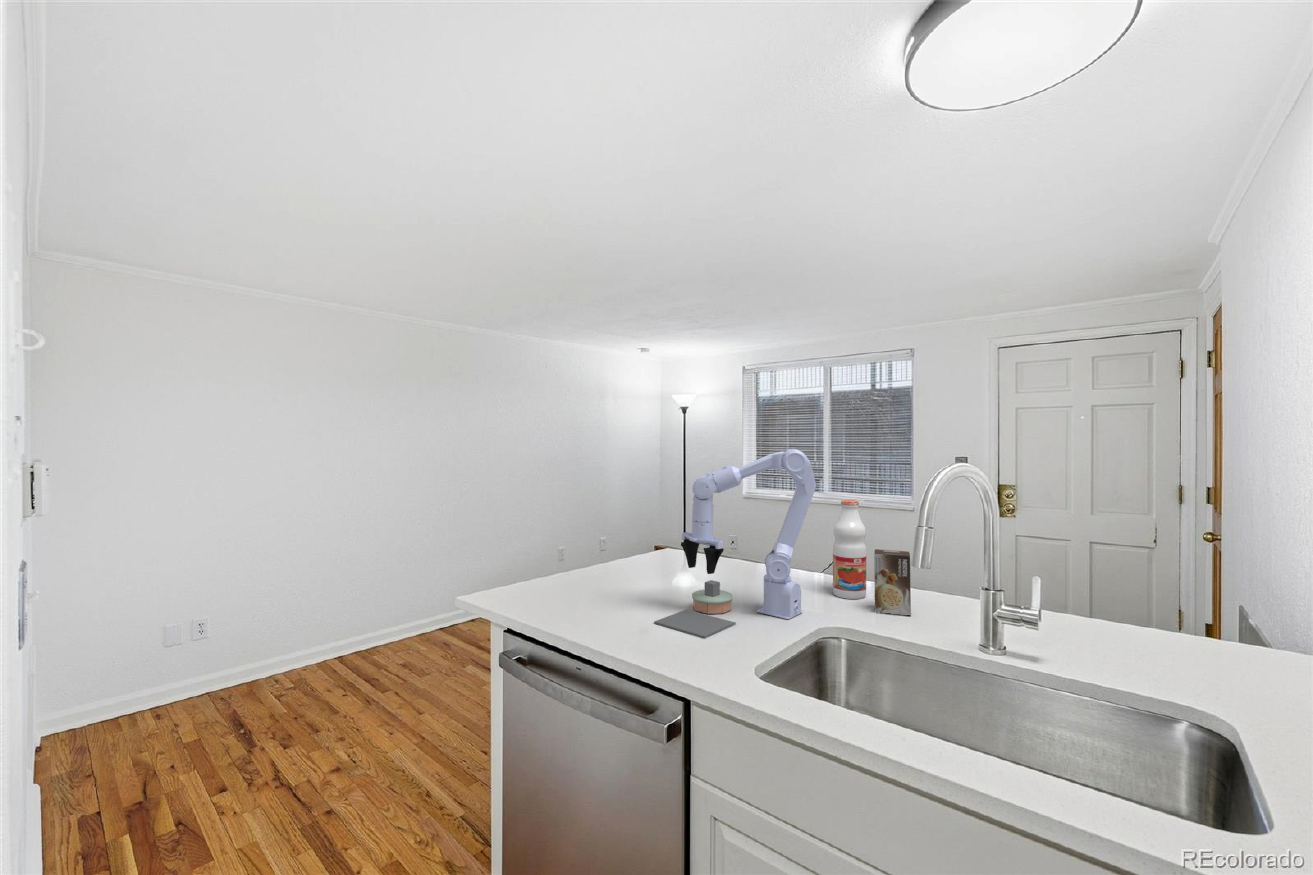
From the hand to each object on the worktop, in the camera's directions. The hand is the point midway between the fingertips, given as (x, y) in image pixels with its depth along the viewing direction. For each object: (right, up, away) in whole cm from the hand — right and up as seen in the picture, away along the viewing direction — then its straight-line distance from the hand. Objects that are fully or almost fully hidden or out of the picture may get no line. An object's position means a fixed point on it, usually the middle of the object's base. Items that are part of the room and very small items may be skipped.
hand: (701, 570), depth 161 cm
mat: (-3, -11, -12) cm, 16 cm away
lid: (+3, -8, 0) cm, 8 cm away
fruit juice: (+45, -11, +13) cm, 48 cm away
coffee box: (+51, -11, -2) cm, 53 cm away
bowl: (+3, -11, 0) cm, 11 cm away
